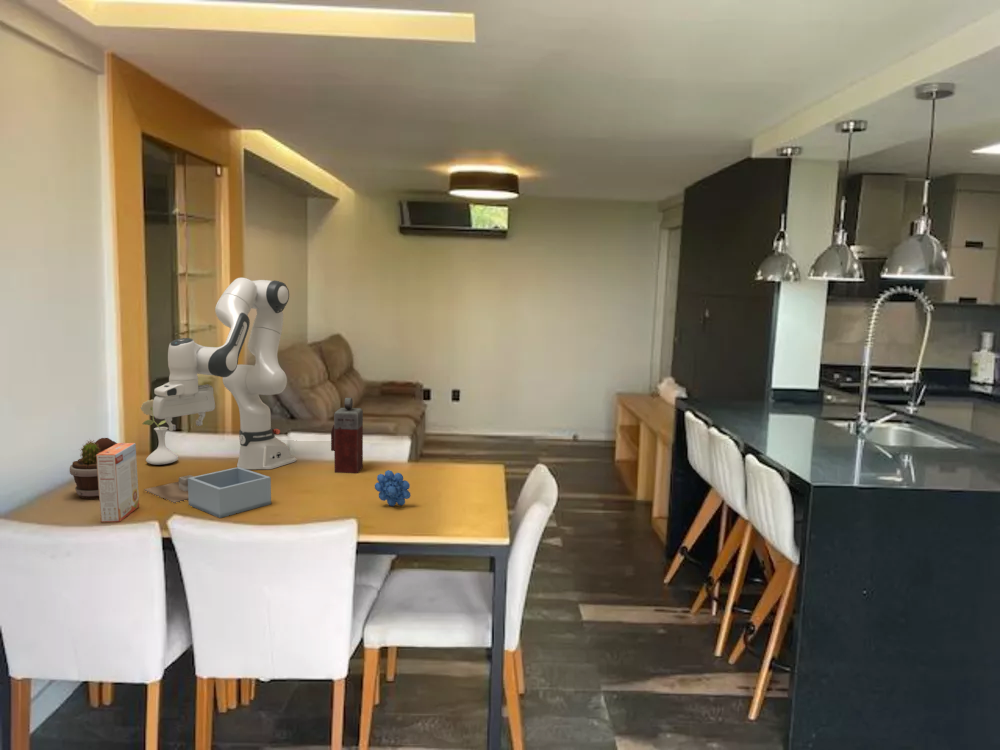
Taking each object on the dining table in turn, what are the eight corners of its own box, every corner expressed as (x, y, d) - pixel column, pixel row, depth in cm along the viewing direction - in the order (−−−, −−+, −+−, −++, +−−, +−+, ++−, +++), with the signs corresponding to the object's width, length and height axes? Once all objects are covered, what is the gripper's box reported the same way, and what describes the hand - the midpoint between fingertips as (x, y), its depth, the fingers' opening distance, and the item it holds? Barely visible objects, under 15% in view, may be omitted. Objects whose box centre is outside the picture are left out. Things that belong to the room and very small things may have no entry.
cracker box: (120, 507, 221) (116, 442, 218) (140, 507, 222) (137, 442, 219) (98, 522, 207) (95, 453, 204) (120, 522, 208) (116, 453, 205)
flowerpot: (84, 488, 239) (81, 430, 237) (130, 488, 240) (128, 431, 238) (60, 501, 225) (56, 440, 222) (110, 501, 226) (106, 441, 223)
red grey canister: (334, 466, 275) (333, 395, 271) (362, 466, 275) (362, 396, 271) (328, 472, 266) (327, 399, 262) (357, 473, 266) (357, 400, 262)
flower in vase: (183, 459, 278) (181, 397, 275) (171, 467, 267) (169, 402, 264) (149, 459, 278) (146, 396, 274) (136, 466, 266) (133, 401, 263)
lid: (199, 480, 254) (199, 466, 253) (231, 491, 242) (230, 476, 241) (144, 492, 238) (143, 477, 237) (174, 505, 226) (174, 489, 225)
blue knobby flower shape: (372, 510, 225) (372, 473, 223) (375, 503, 232) (375, 467, 230) (409, 510, 225) (409, 474, 224) (411, 503, 232) (411, 468, 230)
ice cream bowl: (122, 481, 247) (120, 440, 245) (87, 483, 244) (84, 441, 242) (130, 473, 257) (128, 433, 255) (96, 474, 255) (94, 434, 253)
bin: (239, 492, 239) (238, 466, 237) (271, 504, 228) (270, 477, 227) (188, 505, 225) (187, 478, 223) (220, 518, 214) (219, 489, 213)
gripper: (207, 382, 245) (209, 421, 247) (149, 390, 229) (151, 431, 231) (217, 384, 241) (219, 424, 243) (158, 392, 225) (161, 434, 227)
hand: (186, 427), depth 237 cm, fingers open, 8 cm apart
